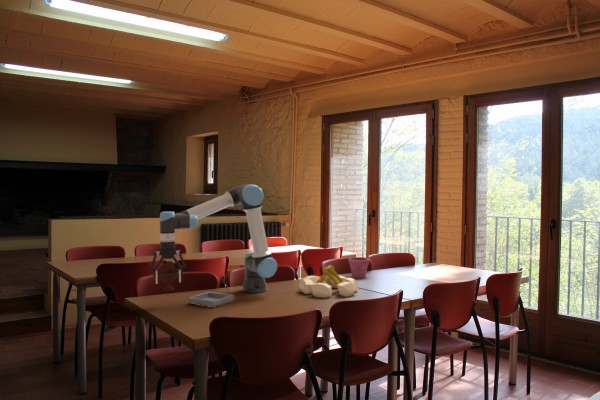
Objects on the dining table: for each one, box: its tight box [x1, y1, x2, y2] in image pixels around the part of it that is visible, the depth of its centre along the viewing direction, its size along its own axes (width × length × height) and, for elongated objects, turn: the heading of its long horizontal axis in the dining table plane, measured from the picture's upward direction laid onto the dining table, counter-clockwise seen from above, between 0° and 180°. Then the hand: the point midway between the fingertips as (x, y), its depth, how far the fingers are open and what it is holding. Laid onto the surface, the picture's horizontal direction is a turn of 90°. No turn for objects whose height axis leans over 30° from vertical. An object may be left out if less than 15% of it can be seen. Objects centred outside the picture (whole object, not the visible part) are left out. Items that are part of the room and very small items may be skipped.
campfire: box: [298, 264, 359, 299], centre depth 296 cm, size 35×34×17 cm
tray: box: [187, 291, 235, 307], centre depth 266 cm, size 17×17×4 cm
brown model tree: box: [157, 260, 179, 292], centre depth 260 cm, size 11×11×15 cm
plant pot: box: [348, 257, 370, 279], centre depth 345 cm, size 14×14×13 cm
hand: (168, 282), depth 260 cm, fingers closed on brown model tree, 11 cm apart
